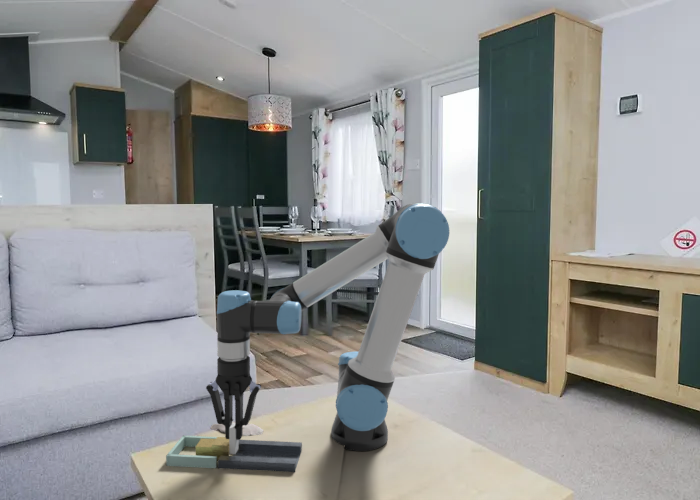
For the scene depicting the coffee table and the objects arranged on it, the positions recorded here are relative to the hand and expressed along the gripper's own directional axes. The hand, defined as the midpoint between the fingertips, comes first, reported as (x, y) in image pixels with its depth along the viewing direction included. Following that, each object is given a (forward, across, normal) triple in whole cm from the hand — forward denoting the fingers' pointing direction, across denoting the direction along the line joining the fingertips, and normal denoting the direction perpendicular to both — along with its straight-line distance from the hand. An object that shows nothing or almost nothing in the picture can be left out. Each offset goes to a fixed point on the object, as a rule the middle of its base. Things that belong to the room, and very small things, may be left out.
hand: (233, 451), depth 121 cm
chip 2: (+2, +3, 0) cm, 3 cm away
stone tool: (+3, +4, -15) cm, 16 cm away
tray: (+3, +9, 0) cm, 9 cm away
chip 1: (+2, +7, 0) cm, 7 cm away
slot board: (+3, -7, 0) cm, 7 cm away
